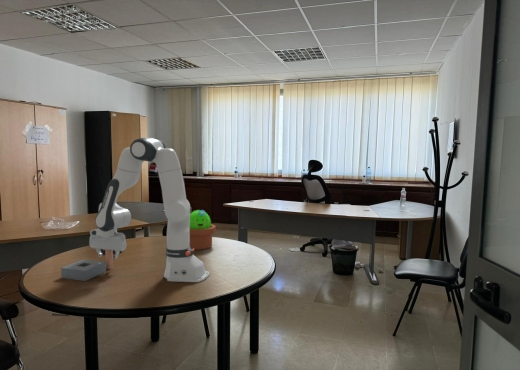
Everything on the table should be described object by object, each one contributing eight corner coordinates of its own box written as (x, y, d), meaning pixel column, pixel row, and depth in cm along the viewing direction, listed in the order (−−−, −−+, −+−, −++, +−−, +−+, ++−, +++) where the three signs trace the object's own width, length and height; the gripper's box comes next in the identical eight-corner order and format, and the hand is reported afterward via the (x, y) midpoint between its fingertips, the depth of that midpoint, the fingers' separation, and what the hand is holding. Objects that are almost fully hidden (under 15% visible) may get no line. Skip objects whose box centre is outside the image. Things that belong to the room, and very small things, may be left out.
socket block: (105, 271, 175) (105, 262, 174) (85, 280, 161) (85, 270, 161) (83, 268, 178) (83, 259, 178) (61, 277, 165) (61, 267, 165)
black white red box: (101, 249, 205) (104, 241, 219) (102, 256, 205) (104, 248, 219) (121, 247, 208) (122, 240, 222) (121, 254, 209) (122, 247, 223)
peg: (114, 267, 181) (113, 245, 180) (109, 269, 178) (109, 247, 177) (108, 266, 182) (108, 244, 181) (104, 268, 179) (103, 246, 178)
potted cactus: (180, 243, 234) (180, 207, 232) (212, 241, 240) (212, 206, 238) (183, 251, 213) (183, 212, 211) (218, 249, 219) (218, 211, 217)
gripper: (128, 231, 179) (128, 257, 180) (95, 228, 184) (96, 254, 185) (121, 234, 173) (121, 261, 174) (87, 231, 178) (87, 257, 179)
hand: (108, 257), depth 179 cm, fingers open, 8 cm apart
